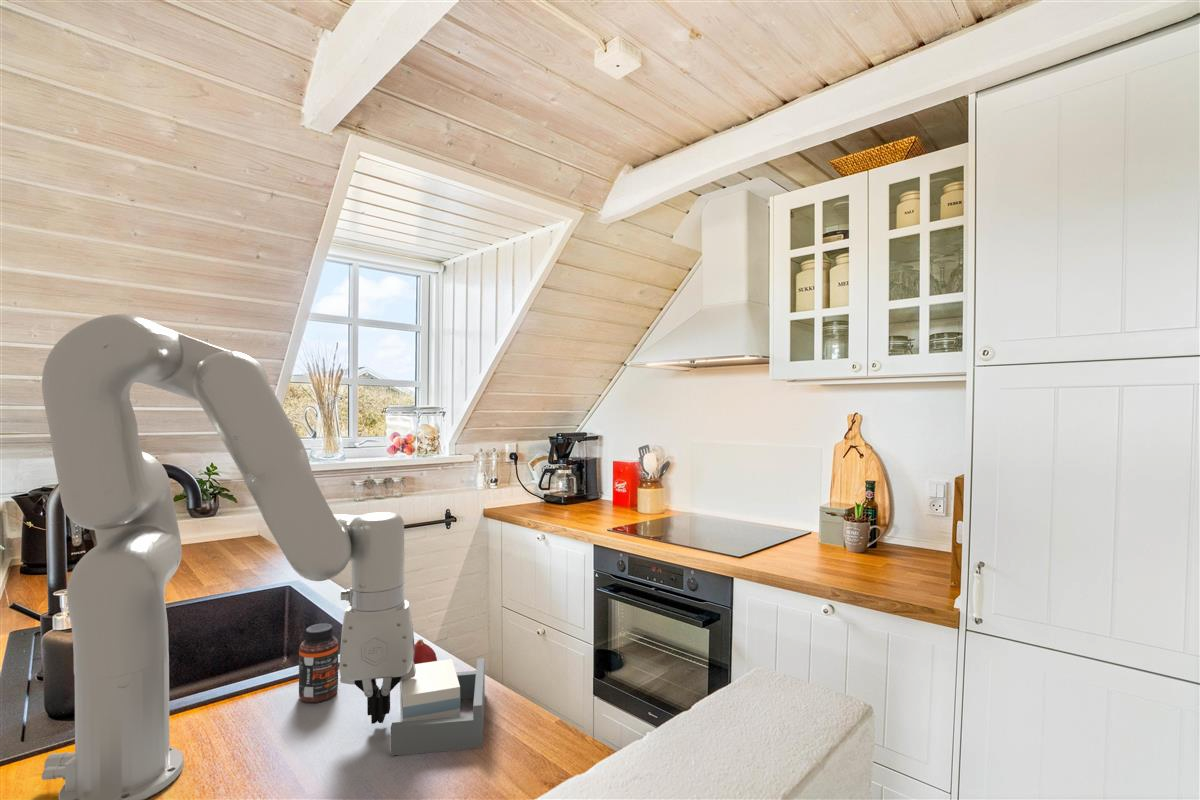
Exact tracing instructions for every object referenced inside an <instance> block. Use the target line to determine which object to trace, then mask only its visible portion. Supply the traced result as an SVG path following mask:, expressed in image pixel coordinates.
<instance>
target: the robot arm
mask: <svg viewBox="0 0 1200 800" xmlns="http://www.w3.org/2000/svg"><path fill="white" fill-rule="evenodd" d="M50 350H51V351H50V353H48V355H47V358H46V360H45V363H44V364H43V365H44V366H43V371H42V376H41V377H42V378H41V390H42V398H43V404H44V410H45V414H46V415H45V416H46V419H47V424H48V430H49V435H50V445H51V452H52V455H53V456H52V457H53V461H54V466H55V471H56V478H57V483H58V491H59V495H60V502H61V505H62V508H63V511H64V514H65V515H66V517H67V518H69V520H70V521H71V522H72V523H73V524H75V525H76V526H78V527H80V528H83V529H86V530H92V531H94V533H95V534H94V535H95V538H96V539H95V540H96V543H97V545H96V546H93V548H91V549H90V550H88V552H87V553H85V554H84V555H83V556H82V557H81V558H80V559H79V561H77V563H76V564H75V566H74V568H73V569H72V572H71V573H70V576H69V579H68V583H67V587H66V603H67V604H66V605H67V610H68V616H69V620H70V626H71V634H72V645H73V646H72V648H73V649H72V650H73V651H72V652H73V675H74V752H60V753H59V752H58V753H57V752H55V753H50V754H49V755H48V756H47V757H46V759H45V762H44V766H43V768H44V769H43V771H42V773H41V780H43V781H46V780H49V781H50V780H56V779H61V778H62V780H63V781H64V785H62V787H61V789H60V790H59V793H58V800H147V799H148V798H151V797H152V796H153V795H157V793H159V792H160V791H162V790H164V789H165V788H167V787H168V786H169V785H170V784H172V783H173V782H174V781H175V780H176V779H177V778H178V777H179V775H180V774H181V773H182V771H183V769H184V765H185V759H184V754H183V753H182V751H181V750H180V749H178V748H176V747H172V746H171V745H170V742H171V741H170V653H169V624H168V616H167V608H166V607H167V606H166V586H167V584H168V583H169V581H170V580H171V579H172V578H173V577H174V575H175V574H176V572H177V570H178V568H179V566H180V564H181V560H182V554H183V553H182V552H183V550H182V549H183V548H182V540H181V534H180V529H179V522H178V517H177V512H176V507H175V501H174V495H173V491H172V490H173V489H172V485H171V481H170V478H169V476H168V473H167V470H166V468H165V467H164V466H163V464H162V463H161V462H160V461H159V460H158V459H157V458H156V457H154V456H152V455H151V454H149V453H147V452H144V451H143V449H142V445H141V441H140V436H139V429H138V422H137V418H136V414H135V410H134V408H133V404H132V403H131V397H130V394H131V393H130V391H131V388H132V386H133V385H134V384H135V383H136V384H137V383H138V384H143V385H148V386H150V387H155V388H157V389H160V390H163V391H167V392H170V393H173V394H176V395H179V396H182V397H185V398H188V399H192V400H195V401H197V402H199V404H200V406H201V408H202V410H203V411H204V413H205V414H206V416H207V417H208V419H209V422H210V423H211V425H212V426H213V428H214V429H215V431H216V432H217V435H218V436H219V438H220V440H221V441H222V443H223V445H224V446H225V448H226V449H227V452H228V453H229V454H230V457H231V458H232V460H233V462H234V463H235V466H236V467H237V469H238V470H239V472H240V475H241V476H242V478H243V481H244V484H245V485H246V488H247V490H248V491H249V493H250V495H251V497H252V498H253V500H254V502H255V504H256V506H257V508H258V510H259V512H260V514H261V516H262V518H263V521H264V522H265V524H266V525H267V528H268V530H269V531H270V533H271V535H272V536H273V538H274V540H275V541H276V543H277V545H278V546H279V548H280V550H281V552H282V553H283V555H284V556H285V558H286V560H287V562H288V564H290V566H291V568H292V569H293V570H294V571H295V573H296V574H298V576H300V577H302V578H304V579H306V580H309V581H313V582H323V581H324V582H325V581H328V580H331V579H333V578H335V577H337V576H338V575H339V574H341V572H342V571H344V570H345V568H347V566H348V564H349V562H350V588H349V589H347V590H341V591H340V600H341V601H346V602H348V603H349V606H348V607H347V608H346V609H345V610H344V611H345V612H344V615H343V620H342V621H343V622H342V628H341V636H340V648H339V649H340V650H339V663H338V671H339V675H340V677H339V678H340V679H339V681H340V683H341V684H345V685H355V686H356V687H357V688H358V689H359V690H361V691H362V692H363V694H364V696H365V697H366V698H367V699H366V700H367V701H366V702H367V703H366V704H367V705H366V706H367V708H366V709H367V710H366V711H367V712H366V713H367V716H370V717H371V719H370V720H371V722H370V723H371V725H375V724H376V723H379V724H383V723H384V721H385V717H386V715H388V714H390V712H391V691H393V689H395V687H396V686H397V685H398V684H400V681H402V680H403V681H404V680H407V679H410V678H413V677H414V676H415V674H416V668H415V664H414V653H415V648H414V645H415V634H414V633H415V632H414V624H413V615H412V611H411V605H410V602H409V601H408V600H407V599H405V594H406V593H405V522H404V521H405V520H404V519H403V517H402V516H401V515H400V514H398V513H395V512H390V511H389V512H388V511H381V512H380V511H378V512H369V513H364V514H359V515H357V514H355V515H354V514H338V513H337V514H336V513H335V514H334V513H333V511H332V509H331V508H330V506H329V505H328V502H327V501H326V499H325V496H324V495H323V493H322V490H321V489H320V485H319V484H318V482H317V480H316V478H315V476H314V473H313V470H312V467H311V463H310V459H309V455H308V453H307V450H306V448H305V445H304V443H303V441H302V439H301V438H300V436H299V434H298V432H297V431H296V429H295V427H294V426H293V424H292V422H291V421H290V419H289V416H288V415H287V414H286V412H285V410H284V408H283V406H282V404H281V403H280V401H279V399H278V398H277V396H276V393H275V391H274V390H273V388H272V386H271V384H270V383H269V379H268V374H267V372H266V370H265V368H264V367H263V365H262V364H261V363H260V362H259V361H257V360H256V359H254V358H253V357H251V356H250V355H247V354H245V353H243V352H239V351H233V350H232V351H231V350H228V349H225V348H222V347H219V346H217V345H213V344H210V343H208V342H205V341H203V340H199V339H198V338H194V337H191V336H189V335H186V334H184V333H181V332H179V331H175V330H173V329H170V328H168V327H166V326H162V325H160V324H158V323H156V322H153V321H152V320H149V319H146V318H143V317H140V316H138V315H137V316H136V315H131V314H126V313H125V314H124V313H123V314H122V313H121V314H120V313H119V314H118V313H117V314H115V313H114V314H110V315H108V314H107V315H102V316H99V317H95V318H92V319H89V320H87V321H85V322H83V323H81V324H80V325H77V326H76V327H75V328H72V329H71V330H69V332H67V333H66V334H65V335H64V336H62V337H61V339H59V340H58V341H57V342H56V343H55V345H54V346H53V348H52V349H50ZM378 679H382V683H381V687H380V686H379V685H377V680H378Z"/></svg>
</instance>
